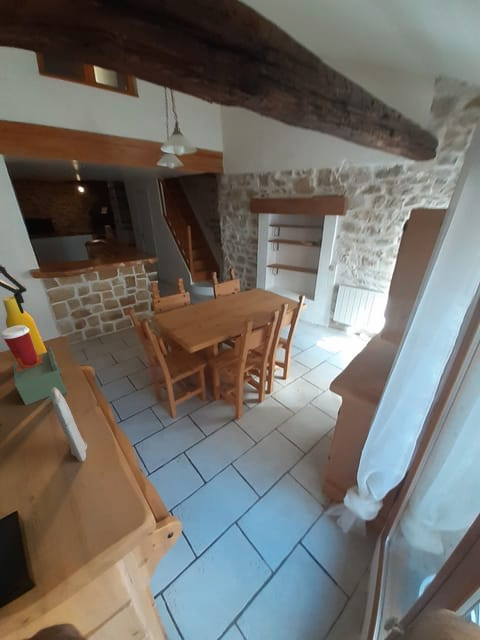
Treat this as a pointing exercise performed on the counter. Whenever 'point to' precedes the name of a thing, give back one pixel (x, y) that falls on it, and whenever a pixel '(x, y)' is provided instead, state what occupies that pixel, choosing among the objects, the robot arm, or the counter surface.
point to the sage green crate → (38, 378)
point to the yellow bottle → (23, 323)
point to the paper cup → (20, 345)
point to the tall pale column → (68, 425)
